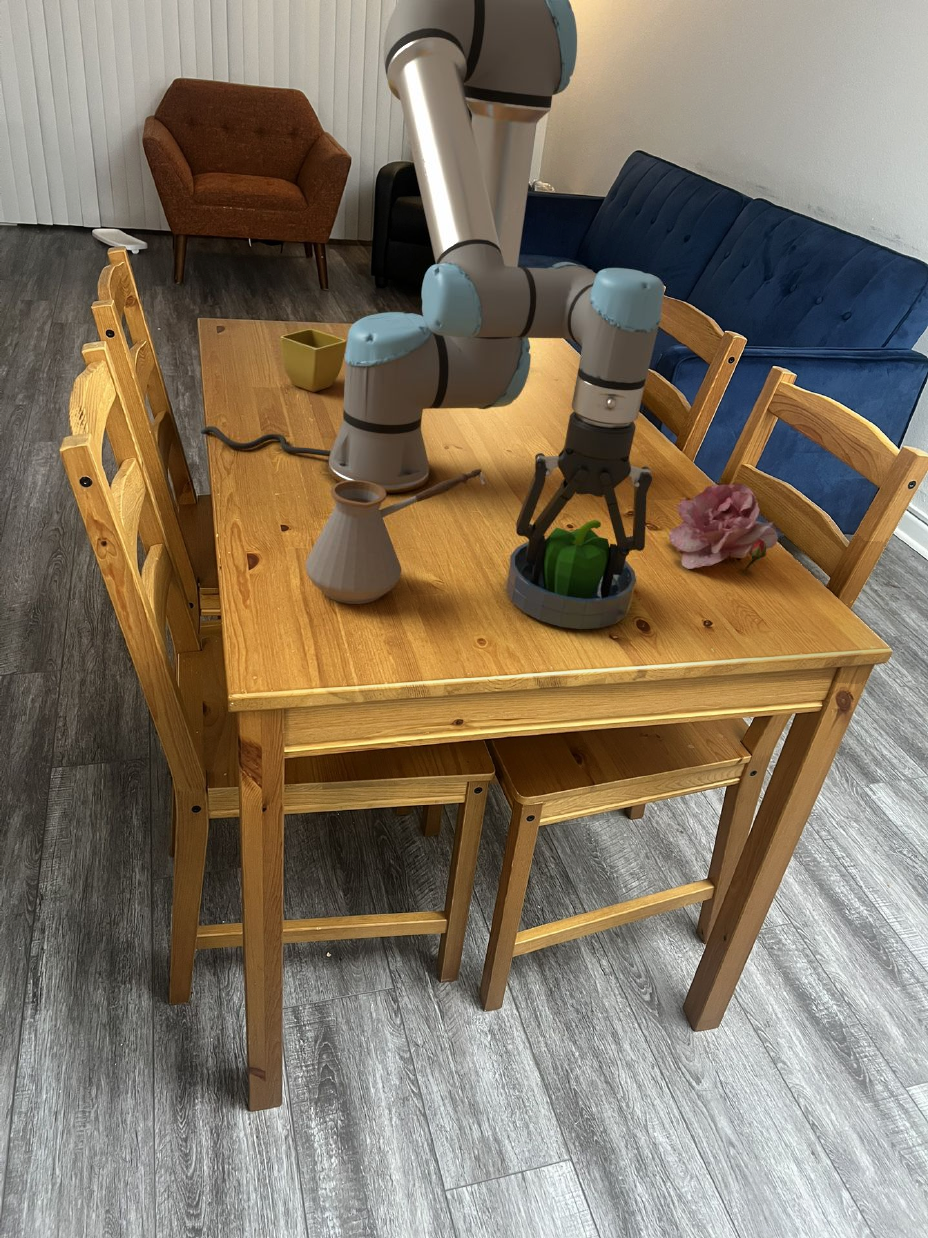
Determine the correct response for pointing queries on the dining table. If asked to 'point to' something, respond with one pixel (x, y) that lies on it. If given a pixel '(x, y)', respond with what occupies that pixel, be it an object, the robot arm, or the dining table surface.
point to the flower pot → (312, 358)
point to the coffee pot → (362, 541)
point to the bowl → (568, 608)
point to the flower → (721, 527)
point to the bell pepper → (575, 561)
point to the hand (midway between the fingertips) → (568, 590)
